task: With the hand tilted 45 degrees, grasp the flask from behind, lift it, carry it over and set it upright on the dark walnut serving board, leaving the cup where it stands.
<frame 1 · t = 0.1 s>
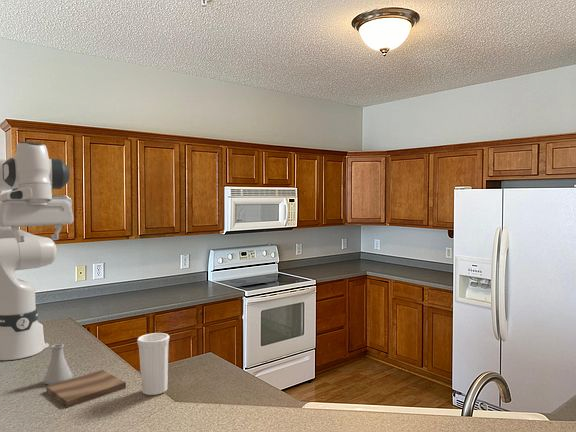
hand: (38, 241, 132), 39 cm above the countertop, tool pointing down, fingers open, 8 cm apart
flask: (58, 381, 124), on the countertop
walnut board: (86, 389, 118), on the countertop
cup: (155, 392, 116), on the countertop
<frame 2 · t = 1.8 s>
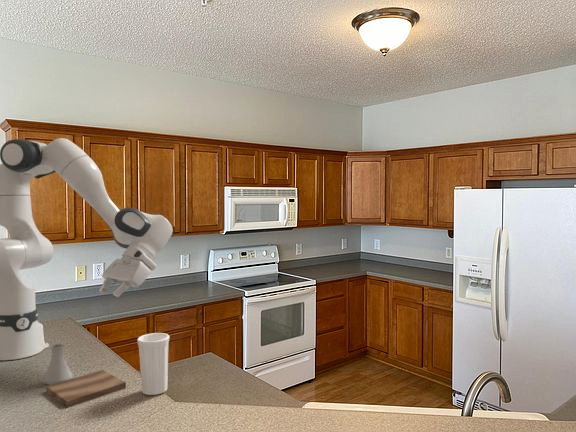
hand: (108, 294, 135), 22 cm above the countertop, tool tilted 45°, fingers open, 8 cm apart
nothing on the countertop moved.
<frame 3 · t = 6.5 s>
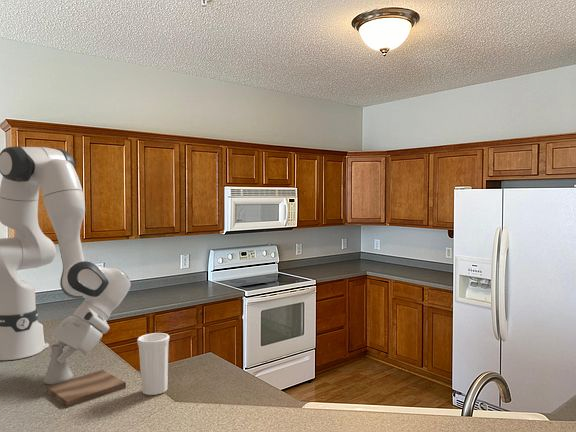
hand: (55, 360, 124), 6 cm above the countertop, tool tilted 45°, fingers closed on flask, 3 cm apart
flask: (58, 381, 124), on the countertop, touching gripper
everything else where it was.
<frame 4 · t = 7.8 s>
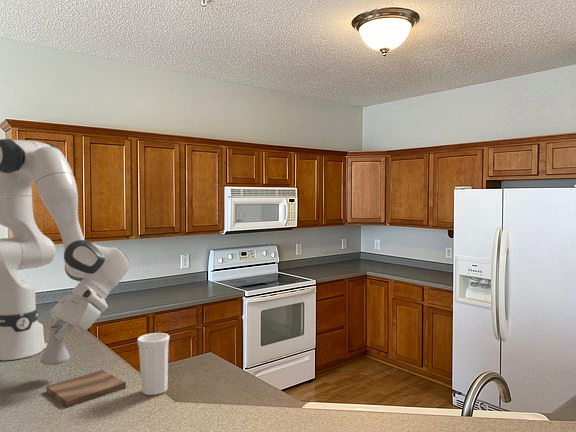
hand: (53, 336, 124), 12 cm above the countertop, tool tilted 45°, fingers closed on flask, 3 cm apart
flask: (55, 361, 125), point 5 cm above the countertop, touching gripper
everything else where it was.
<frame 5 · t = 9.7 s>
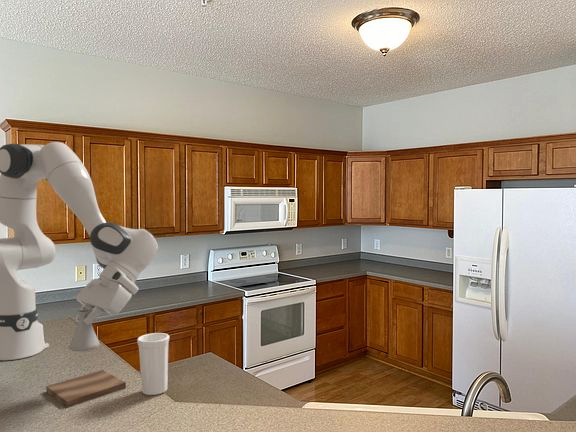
hand: (81, 321, 117), 18 cm above the countertop, tool tilted 45°, fingers closed on flask, 3 cm apart
flask: (84, 348, 118), point 11 cm above the countertop, touching gripper
everything else where it was.
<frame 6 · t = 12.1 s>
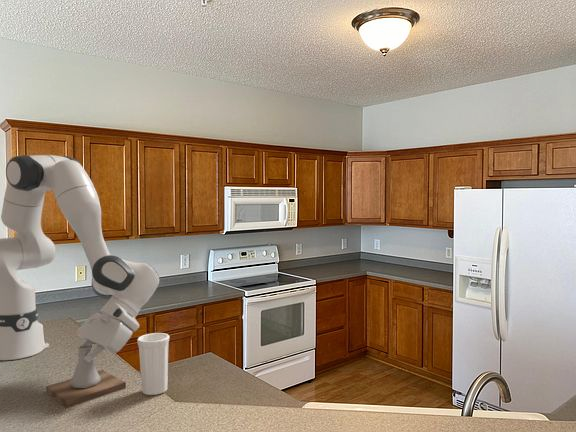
hand: (82, 358, 117), 8 cm above the countertop, tool tilted 45°, fingers closed on flask, 3 cm apart
flask: (85, 384, 118), point 1 cm above the countertop, touching gripper, walnut board
everything else where it was.
when the fingers open (8 cm above the countertop, at t = 12.3 s): flask stays where it is, resting on walnut board.
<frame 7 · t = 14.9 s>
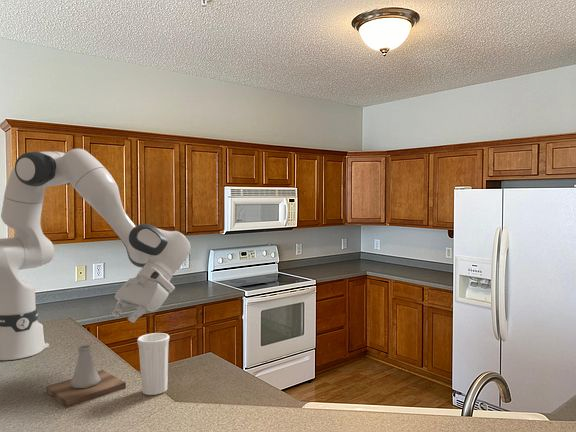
hand: (122, 318, 125), 17 cm above the countertop, tool tilted 45°, fingers open, 8 cm apart
flask: (85, 384, 118), point 1 cm above the countertop, touching walnut board
everything else where it was.
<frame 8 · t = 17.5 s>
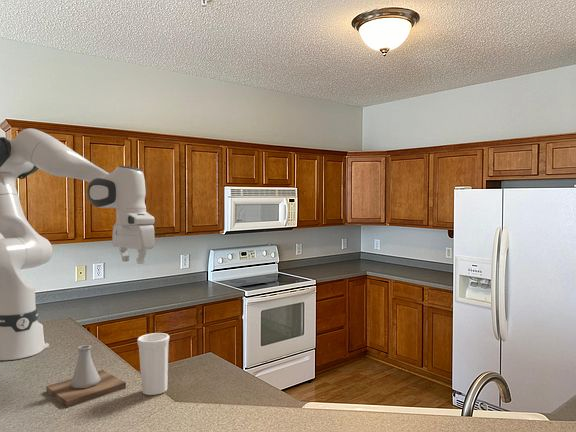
hand: (132, 262, 138), 31 cm above the countertop, tool pointing down, fingers open, 8 cm apart
nothing on the countertop moved.
at the end: flask inside the target area on the walnut board (0.4 cm from its centre), point 1.3 cm above the walnut board's base; flask tilted 0°; cup moved 0.2 cm from its start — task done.
